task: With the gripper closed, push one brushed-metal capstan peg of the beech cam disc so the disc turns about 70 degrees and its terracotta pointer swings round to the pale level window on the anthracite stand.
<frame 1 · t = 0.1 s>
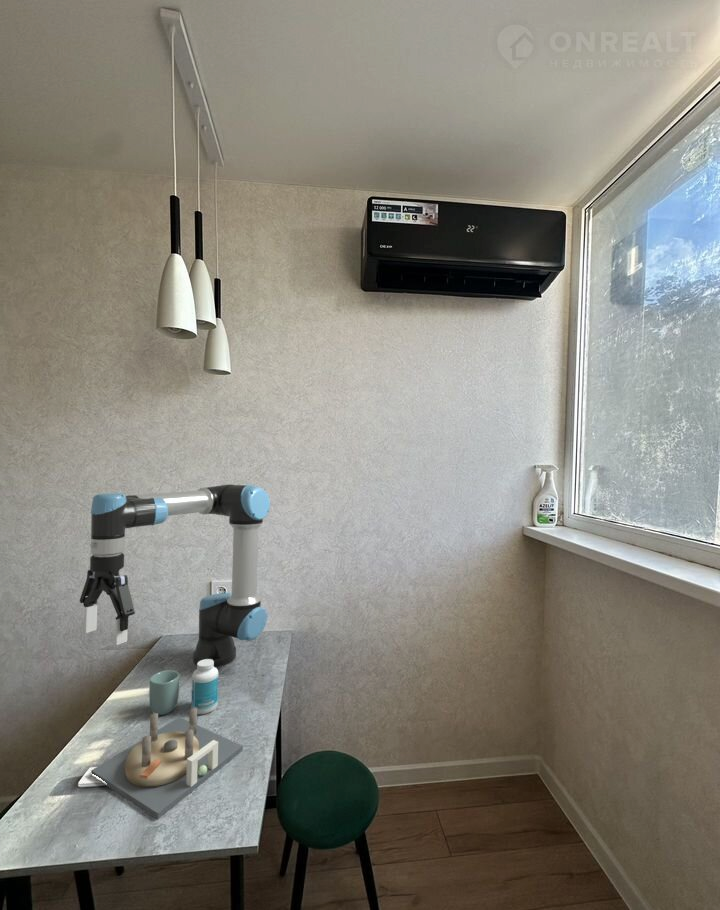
hand: (105, 637, 109), 28 cm above the table, fingers open, 13 cm apart
cam disc: (166, 742, 102), point 6 cm above the table, hinge at 0.0°
pill bottle: (204, 708, 126), on the table
stand: (170, 762, 104), on the table
cup: (163, 711, 125), on the table
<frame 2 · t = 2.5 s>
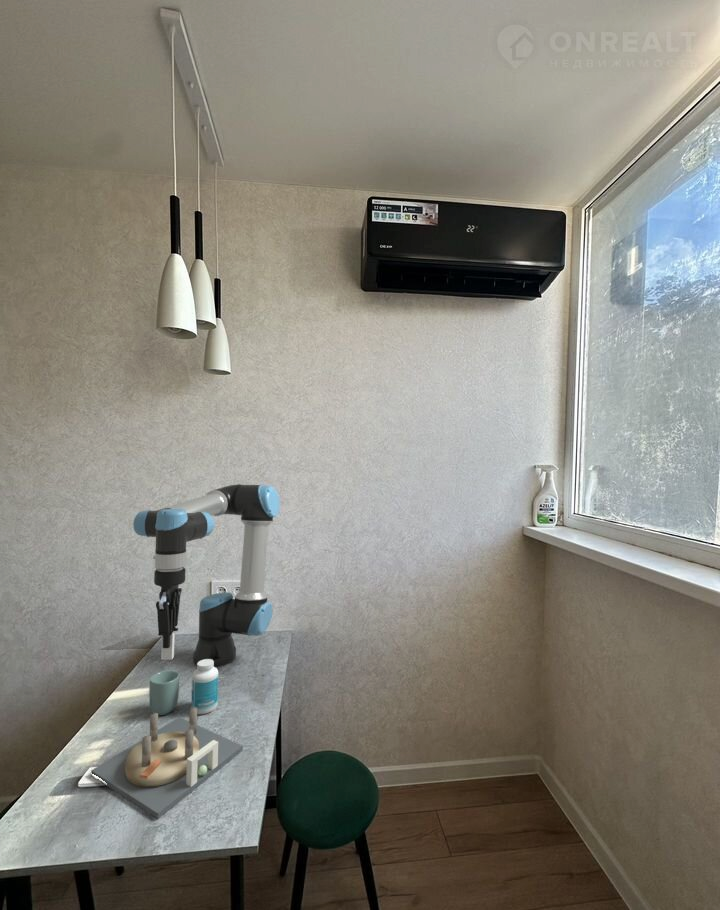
hand: (167, 658, 112), 21 cm above the table, fingers closed
nothing on the table moved.
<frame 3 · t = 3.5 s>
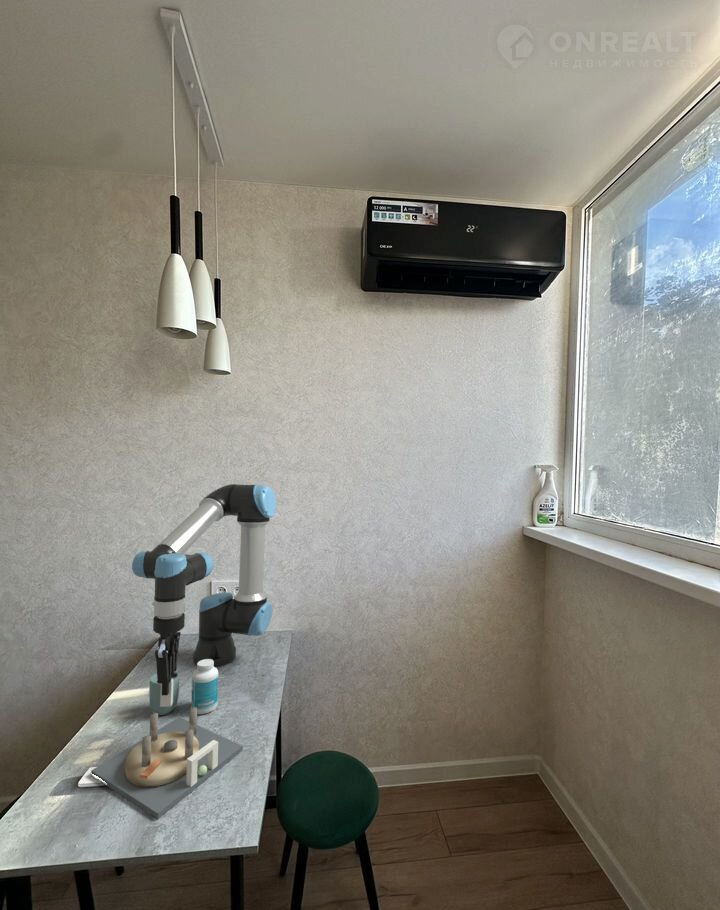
hand: (166, 704, 112), 9 cm above the table, fingers closed
nothing on the table moved.
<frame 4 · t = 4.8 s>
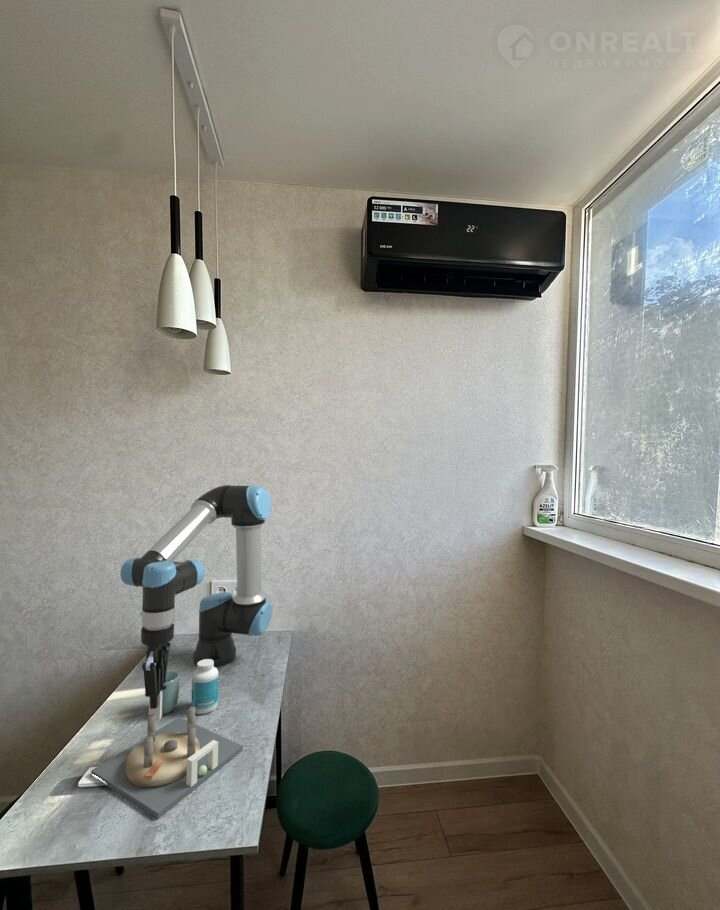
hand: (155, 718, 108), 8 cm above the table, fingers closed
cam disc: (166, 742, 102), point 6 cm above the table, hinge at 6.1°, touching gripper
everything else where it was.
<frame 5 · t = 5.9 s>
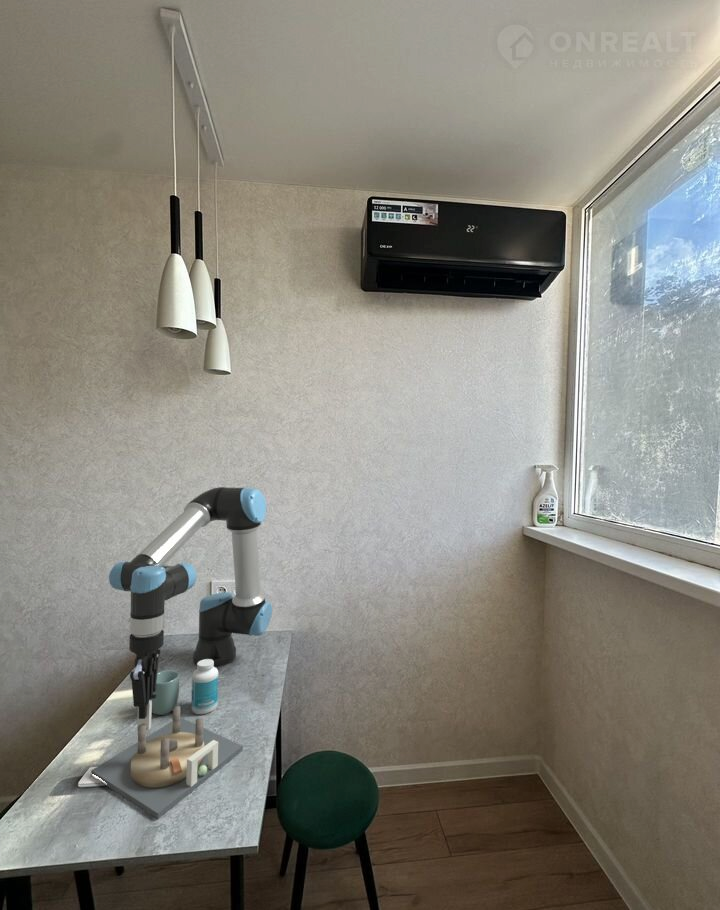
hand: (144, 728, 104), 8 cm above the table, fingers closed
cam disc: (169, 743, 102), point 6 cm above the table, hinge at 41.4°, touching gripper
everything else where it was.
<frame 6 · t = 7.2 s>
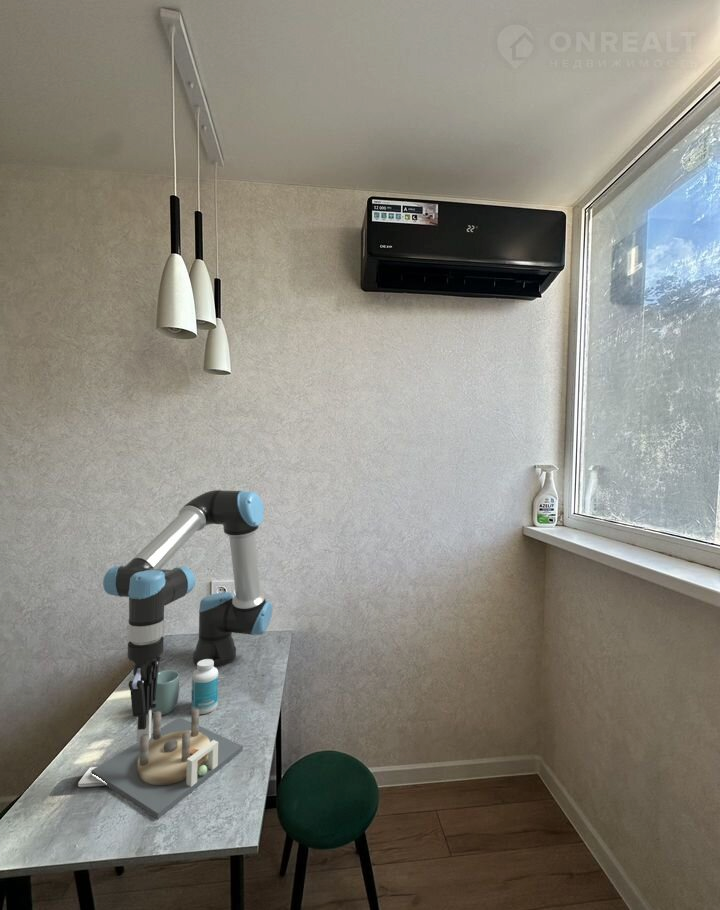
hand: (143, 739, 100), 8 cm above the table, fingers closed
cam disc: (173, 741, 103), point 6 cm above the table, hinge at 82.6°, touching gripper
everything else where it was.
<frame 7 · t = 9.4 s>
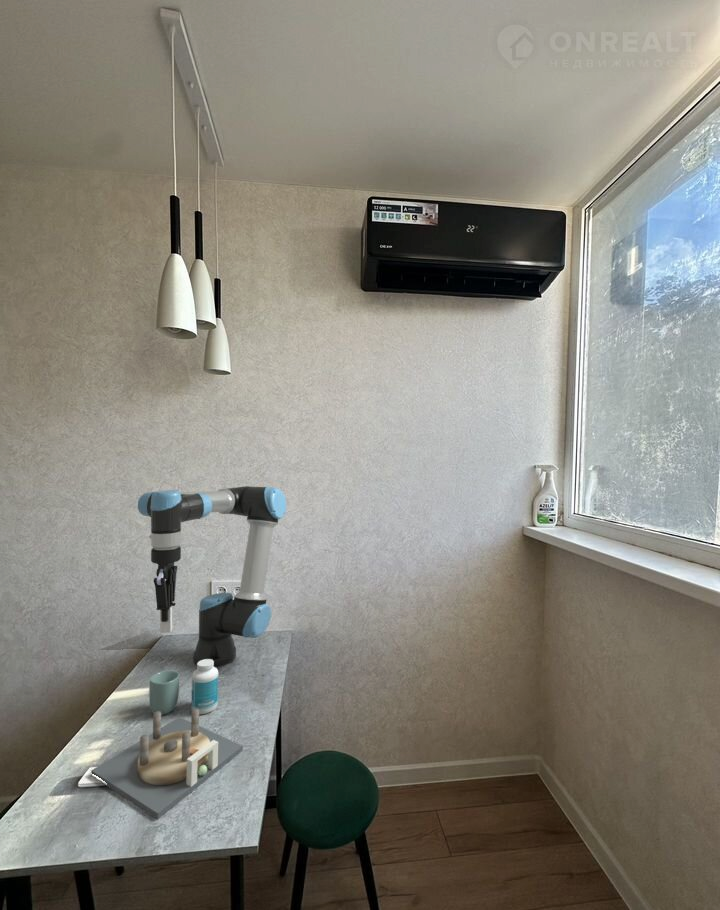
hand: (166, 631, 118), 26 cm above the table, fingers closed
cam disc: (173, 741, 103), point 6 cm above the table, hinge at 82.6°
everything else where it was.
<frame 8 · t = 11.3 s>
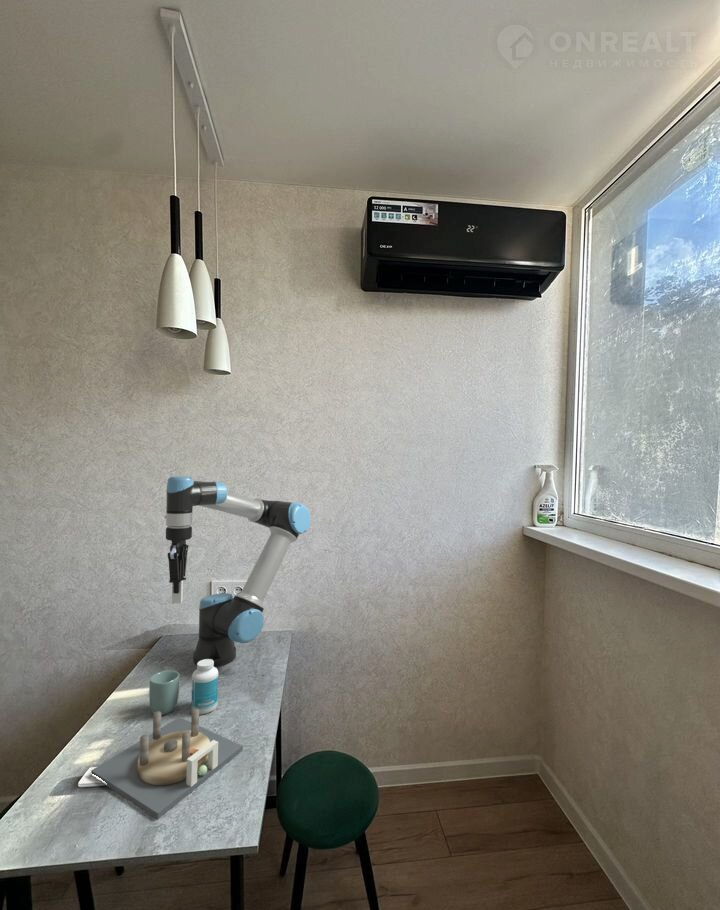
hand: (177, 602, 132), 29 cm above the table, fingers closed
nothing on the table moved.
at the end: cam disc at +83° (first picture: +0°) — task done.
